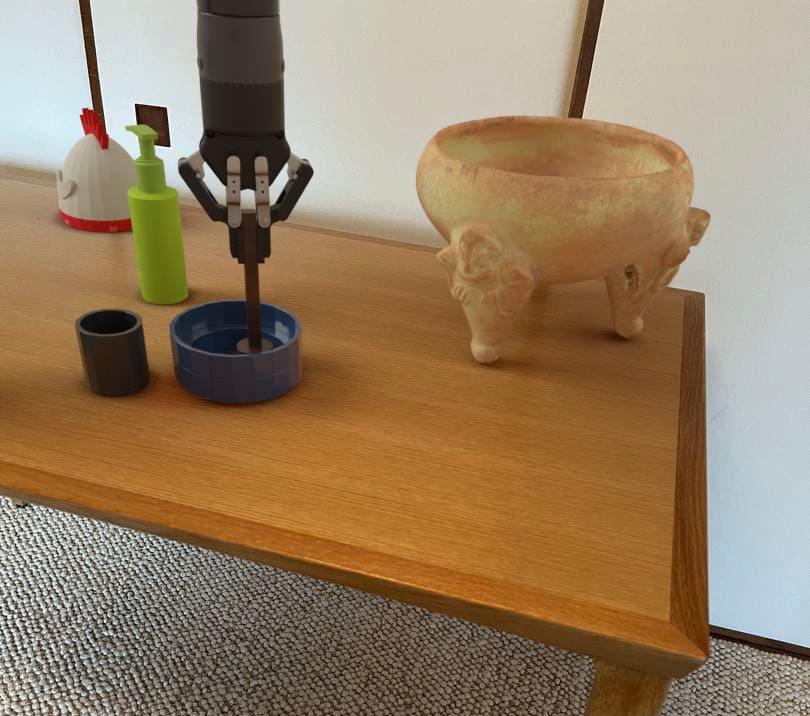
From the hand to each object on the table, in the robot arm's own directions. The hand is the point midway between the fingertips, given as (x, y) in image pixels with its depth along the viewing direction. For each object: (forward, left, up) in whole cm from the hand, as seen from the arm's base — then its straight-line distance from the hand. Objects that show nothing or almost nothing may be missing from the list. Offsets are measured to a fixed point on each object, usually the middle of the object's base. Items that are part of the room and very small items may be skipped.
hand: (250, 260), depth 84 cm
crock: (-15, 0, -13) cm, 20 cm away
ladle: (0, 0, -12) cm, 12 cm away
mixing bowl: (-2, 0, -13) cm, 13 cm away
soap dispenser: (-10, +23, -13) cm, 28 cm away
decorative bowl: (+37, +11, -13) cm, 41 cm away
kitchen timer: (-18, +53, -13) cm, 58 cm away
